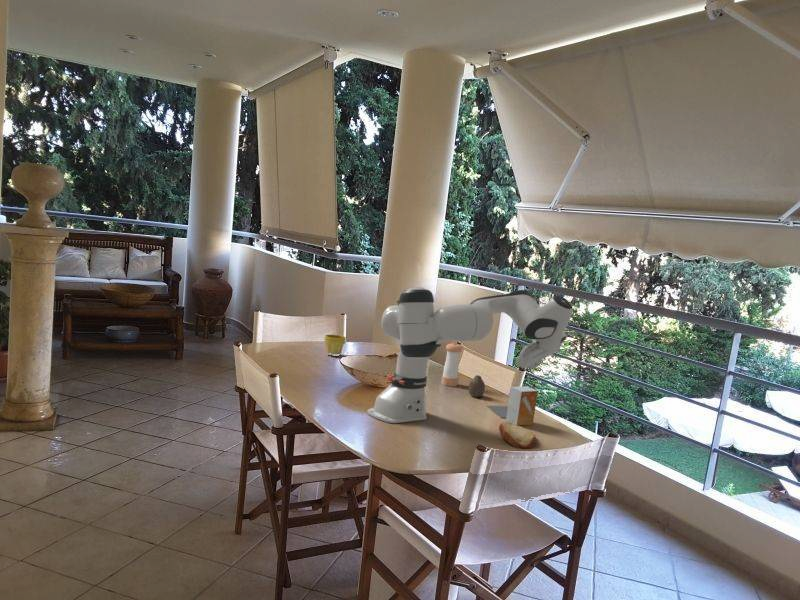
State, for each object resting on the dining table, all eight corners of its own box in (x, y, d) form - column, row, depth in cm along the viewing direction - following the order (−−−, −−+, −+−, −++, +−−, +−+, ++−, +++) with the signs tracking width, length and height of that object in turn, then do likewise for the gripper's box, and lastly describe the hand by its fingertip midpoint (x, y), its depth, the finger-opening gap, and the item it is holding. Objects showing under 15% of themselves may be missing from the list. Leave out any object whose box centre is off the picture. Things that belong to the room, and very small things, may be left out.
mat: (528, 418, 226) (528, 417, 226) (501, 418, 223) (501, 417, 223) (512, 407, 239) (512, 406, 239) (486, 406, 237) (487, 405, 236)
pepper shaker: (457, 383, 269) (462, 341, 267) (457, 387, 262) (462, 344, 259) (441, 381, 269) (446, 339, 267) (441, 385, 262) (446, 342, 260)
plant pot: (335, 352, 305) (337, 333, 304) (347, 356, 298) (349, 337, 296) (319, 353, 298) (320, 334, 297) (331, 358, 291) (333, 338, 289)
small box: (516, 426, 216) (521, 391, 214) (505, 420, 221) (510, 386, 220) (533, 424, 220) (538, 390, 218) (522, 419, 225) (526, 385, 224)
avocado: (479, 399, 245) (482, 379, 244) (464, 395, 249) (467, 375, 248) (486, 396, 251) (489, 376, 250) (471, 392, 255) (474, 373, 254)
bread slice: (503, 425, 216) (505, 415, 215) (549, 440, 205) (551, 430, 204) (477, 435, 202) (479, 425, 201) (525, 452, 191) (527, 441, 190)
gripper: (533, 353, 192) (519, 382, 200) (570, 334, 205) (556, 363, 213) (519, 341, 196) (506, 371, 204) (556, 324, 208) (542, 352, 216)
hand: (532, 367), depth 208 cm, fingers closed
